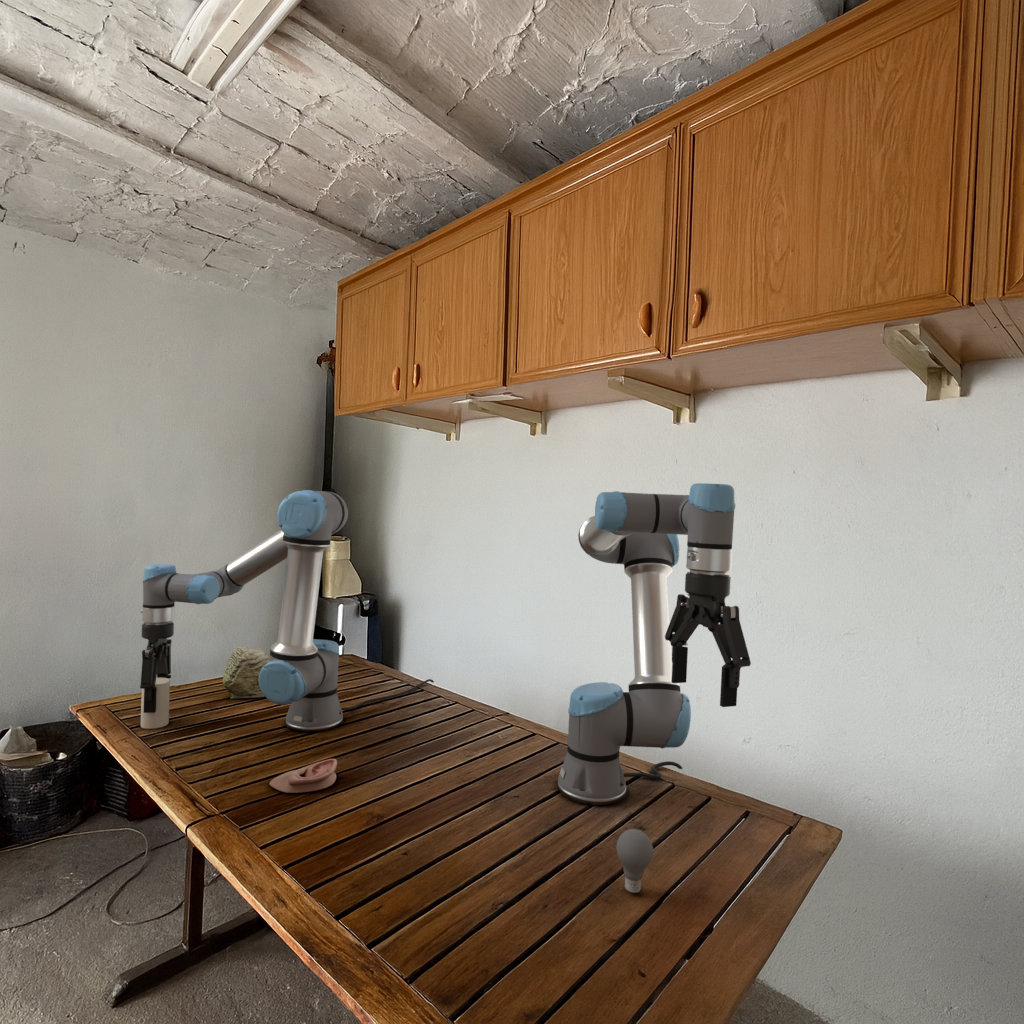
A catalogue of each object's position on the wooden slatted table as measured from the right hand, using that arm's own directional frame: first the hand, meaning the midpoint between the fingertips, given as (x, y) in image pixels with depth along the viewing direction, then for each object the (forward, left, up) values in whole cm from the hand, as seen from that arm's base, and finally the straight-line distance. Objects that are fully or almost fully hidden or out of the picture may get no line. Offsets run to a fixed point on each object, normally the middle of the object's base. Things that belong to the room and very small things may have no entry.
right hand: (702, 693), depth 111 cm
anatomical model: (+63, -54, -32) cm, 89 cm away
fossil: (+75, -121, -32) cm, 146 cm away
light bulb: (+13, +1, -32) cm, 35 cm away
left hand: (+99, -100, -28) cm, 144 cm away
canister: (+99, -100, -32) cm, 145 cm away
